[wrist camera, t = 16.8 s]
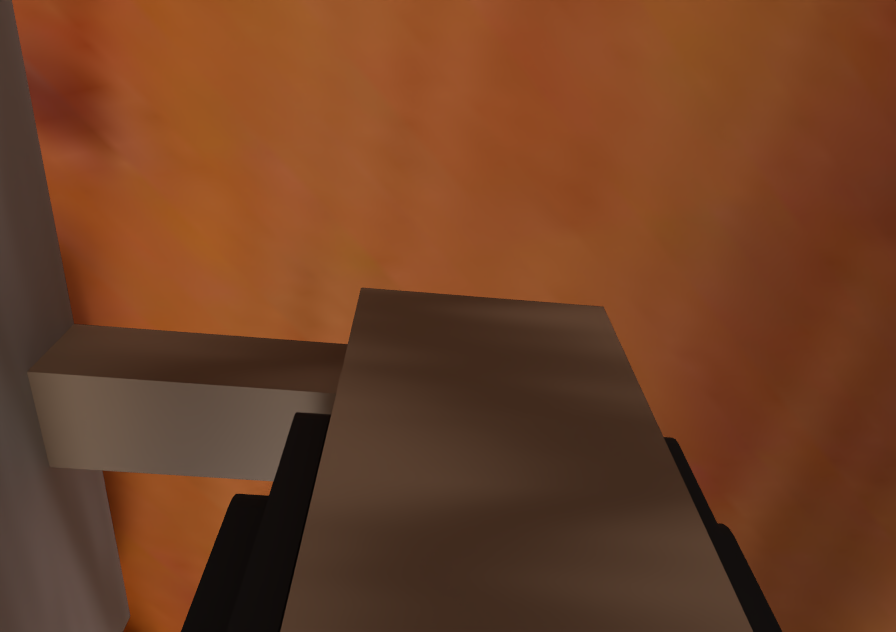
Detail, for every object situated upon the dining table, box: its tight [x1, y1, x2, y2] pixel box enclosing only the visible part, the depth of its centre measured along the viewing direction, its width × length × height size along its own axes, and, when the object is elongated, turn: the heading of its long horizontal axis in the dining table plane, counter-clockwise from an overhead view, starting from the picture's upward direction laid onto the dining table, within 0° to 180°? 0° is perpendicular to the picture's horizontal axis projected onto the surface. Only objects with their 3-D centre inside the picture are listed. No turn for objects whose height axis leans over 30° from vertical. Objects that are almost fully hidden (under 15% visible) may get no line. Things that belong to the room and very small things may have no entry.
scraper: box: [0, 0, 753, 632], centre depth 9 cm, size 11×14×10 cm
